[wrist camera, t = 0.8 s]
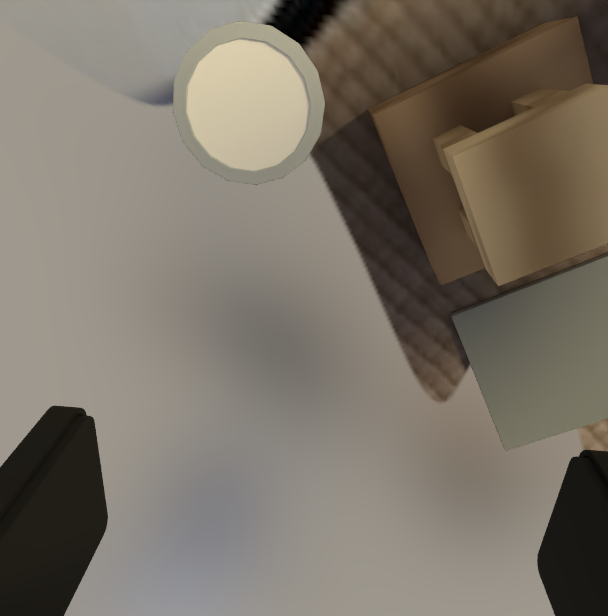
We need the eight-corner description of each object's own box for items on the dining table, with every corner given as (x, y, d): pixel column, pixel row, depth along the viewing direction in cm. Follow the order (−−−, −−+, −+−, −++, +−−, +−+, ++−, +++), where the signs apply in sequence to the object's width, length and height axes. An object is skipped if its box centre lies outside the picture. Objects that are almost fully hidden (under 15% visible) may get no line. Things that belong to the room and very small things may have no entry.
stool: (545, 80, 25) (610, 85, 20) (576, 193, 28) (643, 229, 22) (425, 135, 27) (452, 156, 21) (464, 240, 29) (498, 286, 23)
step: (545, 22, 28) (577, 16, 24) (590, 195, 32) (624, 212, 28) (367, 109, 30) (373, 115, 26) (429, 261, 34) (441, 285, 30)
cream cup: (302, 176, 32) (296, 205, 26) (191, 137, 31) (156, 156, 25) (343, 56, 29) (347, 54, 23) (222, 9, 28) (192, -5, 22)
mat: (673, 227, 32) (677, 229, 32) (705, 382, 36) (709, 385, 36) (450, 313, 35) (451, 316, 35) (503, 447, 39) (505, 451, 39)
